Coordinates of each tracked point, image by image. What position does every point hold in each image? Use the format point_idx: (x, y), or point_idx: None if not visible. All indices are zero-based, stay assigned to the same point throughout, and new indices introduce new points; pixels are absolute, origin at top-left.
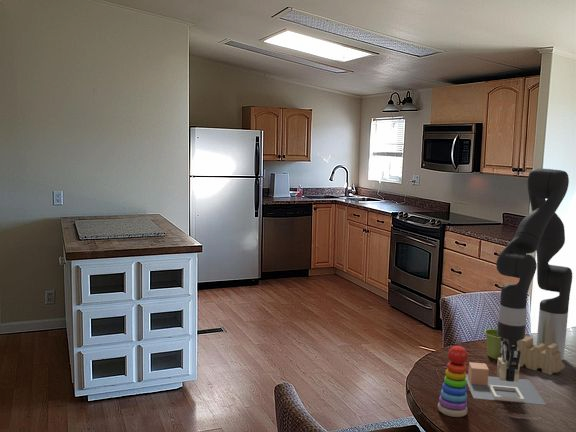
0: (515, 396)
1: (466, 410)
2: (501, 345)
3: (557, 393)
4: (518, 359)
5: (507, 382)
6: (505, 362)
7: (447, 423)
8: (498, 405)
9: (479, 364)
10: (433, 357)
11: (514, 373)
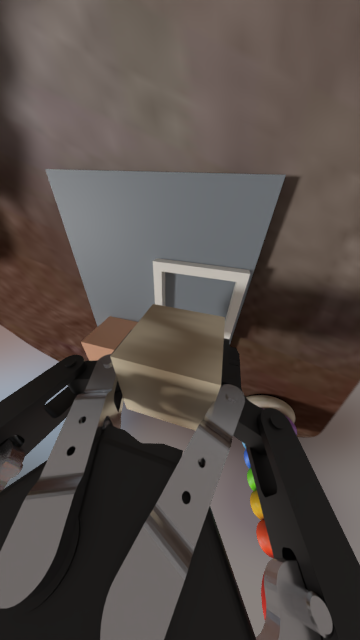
0: (204, 281)
1: (286, 409)
2: (39, 439)
3: (104, 8)
4: (346, 552)
5: (107, 266)
6: (185, 417)
7: (306, 427)
8: (241, 332)
9: (96, 357)
10: (47, 350)
11: (228, 364)
